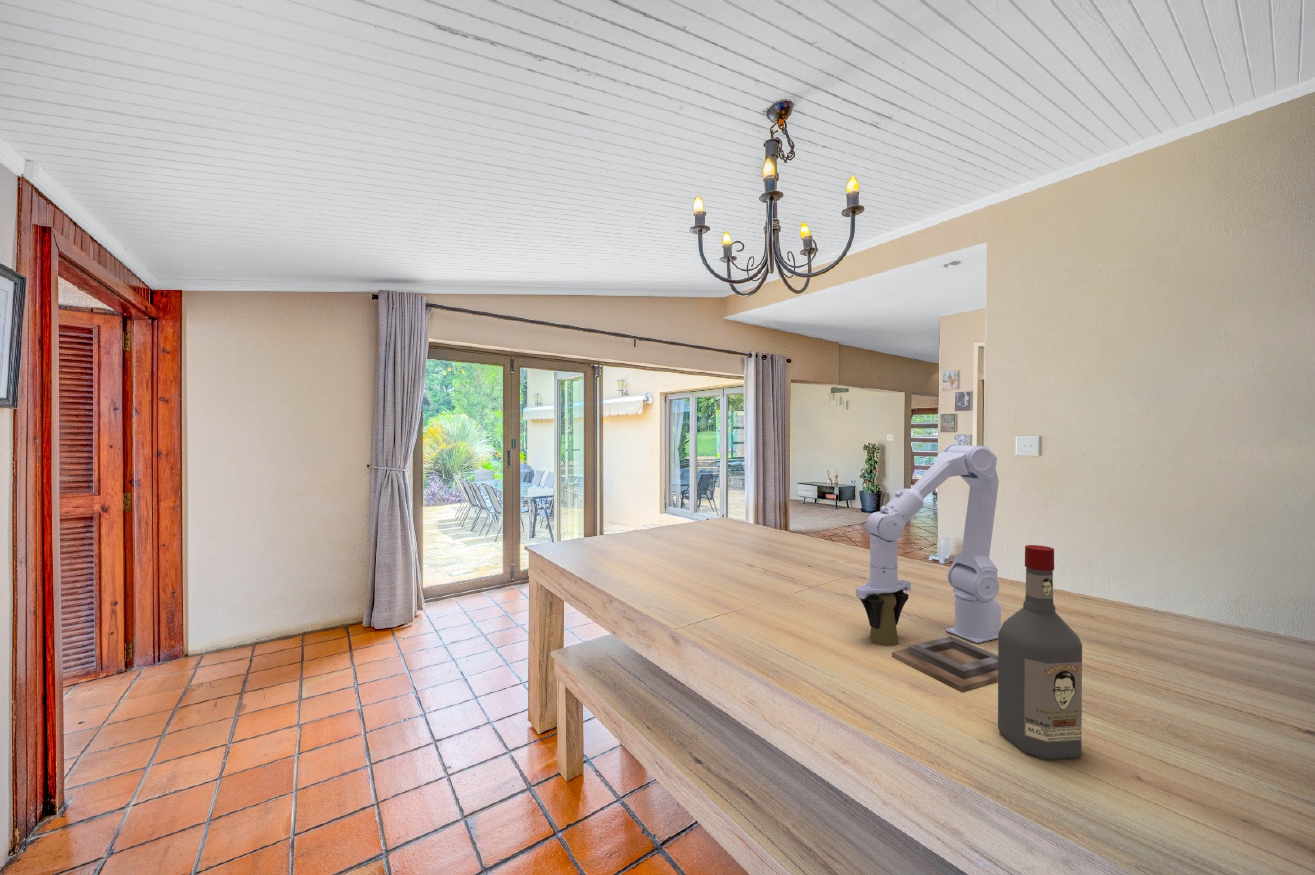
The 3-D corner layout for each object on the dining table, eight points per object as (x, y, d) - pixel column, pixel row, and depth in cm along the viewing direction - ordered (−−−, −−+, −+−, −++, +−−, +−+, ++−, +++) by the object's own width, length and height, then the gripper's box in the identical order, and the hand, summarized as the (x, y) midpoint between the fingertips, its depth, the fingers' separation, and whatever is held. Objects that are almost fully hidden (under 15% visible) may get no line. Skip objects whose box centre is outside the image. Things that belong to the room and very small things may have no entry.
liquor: (989, 726, 84) (989, 542, 83) (1041, 723, 85) (1042, 540, 84) (1034, 763, 75) (1035, 556, 74) (1093, 759, 76) (1094, 554, 75)
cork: (901, 646, 114) (901, 597, 114) (872, 644, 116) (872, 595, 115) (894, 636, 120) (894, 588, 120) (867, 634, 122) (866, 587, 121)
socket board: (952, 642, 117) (952, 631, 116) (1026, 673, 102) (1026, 660, 102) (891, 656, 110) (891, 644, 110) (962, 692, 95) (962, 678, 95)
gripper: (893, 558, 124) (893, 614, 124) (845, 565, 119) (846, 624, 119) (918, 565, 118) (918, 625, 118) (869, 573, 112) (869, 635, 112)
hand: (883, 625), depth 118 cm, fingers closed on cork, 5 cm apart
